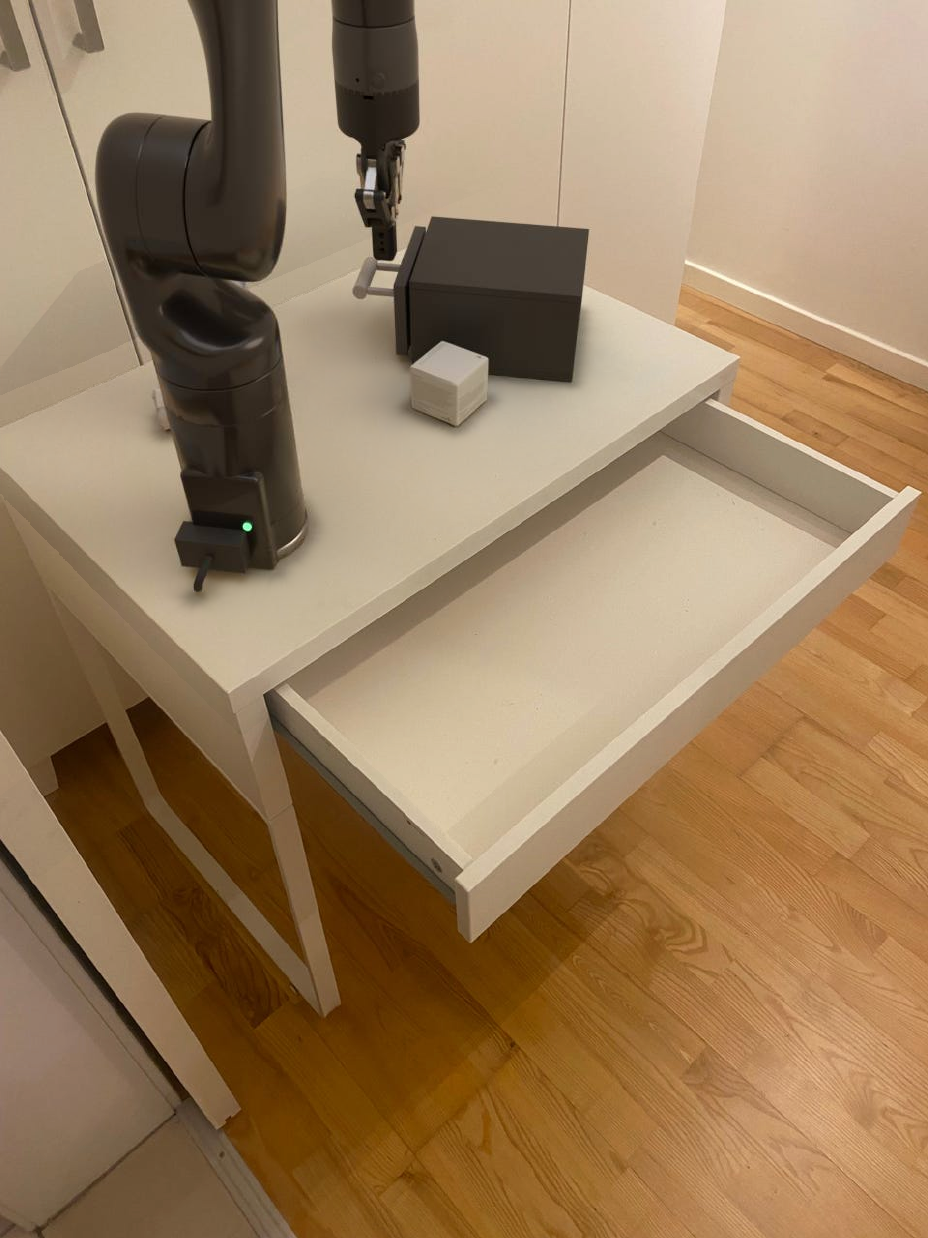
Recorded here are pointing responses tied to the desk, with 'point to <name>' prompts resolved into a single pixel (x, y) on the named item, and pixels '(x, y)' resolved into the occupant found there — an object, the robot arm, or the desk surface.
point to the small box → (449, 382)
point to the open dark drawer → (394, 287)
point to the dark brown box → (500, 294)
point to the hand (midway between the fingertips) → (385, 257)
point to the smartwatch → (160, 408)
